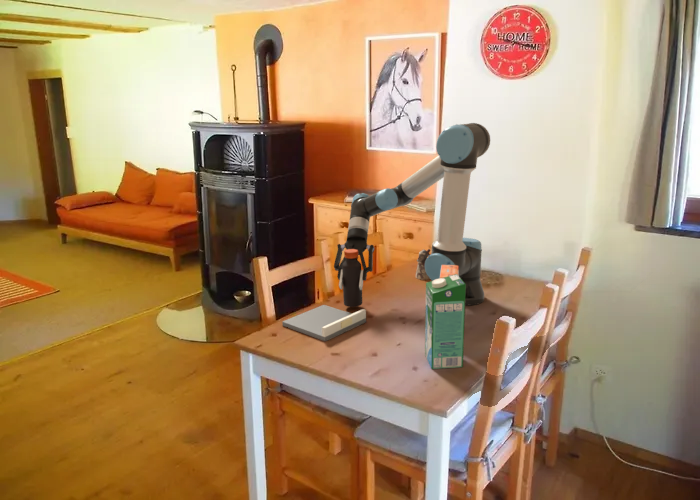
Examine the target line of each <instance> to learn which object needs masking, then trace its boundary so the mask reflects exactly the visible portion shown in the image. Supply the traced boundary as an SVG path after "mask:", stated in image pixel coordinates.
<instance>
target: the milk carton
mask: <svg viewBox="0 0 700 500" xmlns="http://www.w3.org/2000/svg"><path fill="white" fill-rule="evenodd" d="M465 291H466V284H465V283H464V282H463V281H462V279H461V278H460V277H459V276H458V275H457V274H455V275H451V276H448V277H444V278H439V279H436V280H433V281H432V280H430V281H427V282H425V317H424V318H425V319H424V320H425V321H424V322H425V325H424V329H425V330H424V331H425V332H424V356H425V358H426V360H427V363H428V364H429V366H430V369H431V370H436V369H437V370H438V369H455V368H464V349H465V347H464V346H465V345H464V343H465V340H464V339H465V320H466V319H465V315H466V314H465V313H466V305H465Z"/></svg>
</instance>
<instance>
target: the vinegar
mask: <svg viewBox="0 0 700 500" xmlns="http://www.w3.org/2000/svg"><path fill="white" fill-rule="evenodd" d="M343 254H344V257H345V259H346V261H345V262H344V263H343V264H342V273H343V288H342V292H343V305H344V306H346V307H347V308H356V307H361V305H363V289H362V290H360V288H359V282H360V274H361V270H362V262H361V261H360V260H359V255H358V250H356V249H344V250H343ZM344 257H343V258H344Z"/></svg>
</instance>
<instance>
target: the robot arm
mask: <svg viewBox="0 0 700 500" xmlns="http://www.w3.org/2000/svg"><path fill="white" fill-rule="evenodd" d="M435 145H436V146H435V147H436V153H437V156H436V157H434V158H433V159H431V160H430V161H429V162H428V163H426V164H425V165H424V166H422V167H421V168H420V169H418V170H417V171H415V172H414V173H413V174H411V175H410V176H408V177H407V178H406V179H405V180H403V181H402V182H401V183H400V184H398V185H396V186H395V187H392V188H390V187H389V188H384V189H381V190H379V191H377V192H375V193H373V194H371V195H369V194H367V193H363V192H362V193H356V194H355V195H354V196H353V197H352V200H351V204H350V213H349V214H350V215H349V220H348V228H347V236H346V241H345V243H344V244H340V243H338V244H337V246H336V247H337V253H336V256H335V260H334V265H333V268H334V270H335V271H336V272H337V280H339V282H338V287H339V289H340V290H343V273H342V264H343V263H344V262H345V261H346V259H345V257H343V258H342V256H343V252H344V251H345V250H347V249H356V250H358V256H359V258H360V263H361V267H362V269H361V274H360V282H359V288H360V290H362V291H363V286H364V282H365V281H367V277H368V273H369V272H371V273H372V272H373V269H374V268H373V267H374V265H373V264H374V262H373V261H374V259H373V257H374V251H375V246H374V245H373V244H368V237H369V236H368V235H369V234H368V233H369V229H370V227H369V226H370V219H371V217H373V216H376V215H379V214H381V213H384V212H387V211H391V210H394V209H396V208H399V207H404V206H407V205H409V204H410V203H412V201H413V200H414V199H415V198H416V197H417V196H419V195H420V194H421V193H423V192H425V191H426V190H428V189H429V188H430V187H432V186H433V185H435V184H436V183H438V182H439V181H441V180H442V179H443V181H442V191H441V199H440V210H439V220H438V230H437V236H436V239H435V240H434V241H433V242H432V244H431V251H430V252H431V254H430V255H429V256H428V257H427V259H426V261H425V271H426V274H427V275H428V276H429V278H430V279H429V280H430V281H433V280H436V279H439V278H440V271H441V265H457V266H459V277H460V278H461V279H462V281H463V282H464V283H465V284H466V291H465V306H475V305H479V304H482V303H483V302H484V301H485V290H484V288H483V284H482V280H481V269H482V251H483V249H482V241H480V240H478V239H475V238H470V237H464V233H465V232H464V231H465V221H466V215H467V206H468V199H469V190H470V181H471V173H472V172H473V171H475V169H477V163H478V158H480V157H482V156H483V155H484V154H485V153H487V151H488V150H489V148H490V145H491V135H490V133H489V130H488V129H487V128H486V127H485V126H484V125H482V124H480V123H476V122H471V123H463V124H461V123H460V124H453V125H451V126H449V127H446V128H445V129H443V131H441V132H440V134H439V135H438V137H437V140H436V144H435ZM366 250H367V252H368V262H367V263H368V266H367V264H366V261H365V256H364V252H365V251H366Z"/></svg>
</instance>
